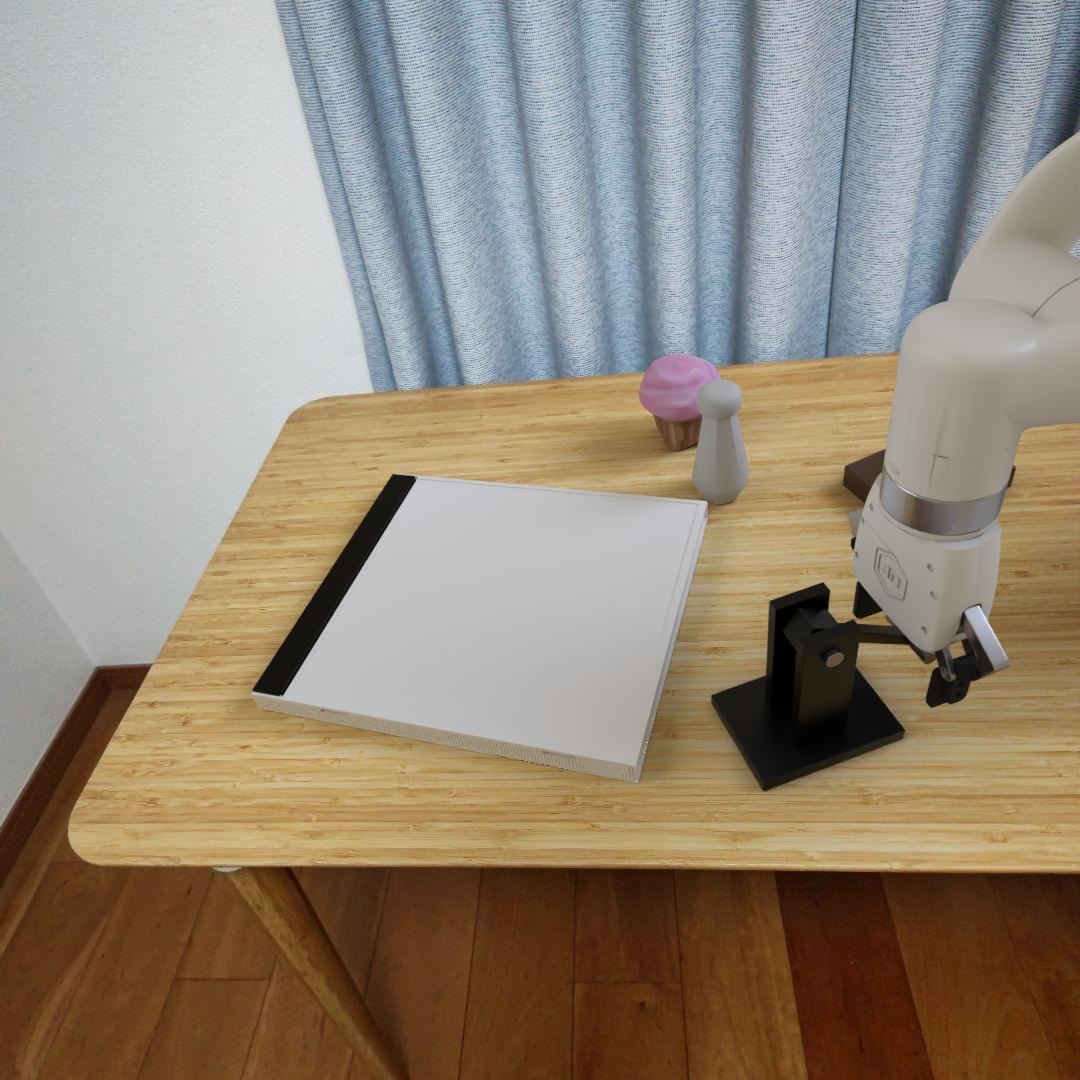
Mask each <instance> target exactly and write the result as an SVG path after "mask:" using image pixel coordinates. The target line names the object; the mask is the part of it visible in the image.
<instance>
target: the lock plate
mask: <svg viewBox="0 0 1080 1080" xmlns="http://www.w3.org/2000/svg"><path fill="white" fill-rule="evenodd" d="M885 451H886V448H884V449H881V450H879V451H877V452H874V453H871V454H870V455H868V456H865V457H863V458H860V459H858V460H856V461H853V462H851V463H849V464H846V465H844V469H843V477H842V479H843V480H842V486H844V487H845V488H846V489H847V490H848V491H849V492H850V493H851V494H853V495H854V496H855V497H856V498H858V500H860V501H861V502H863V503H864V504H865V502H866V499H867V497H868V495H869V492H870V490H871V488H872V486H873V484H874V482H875V480H876V478H877V477H878V476H879V475H880V474H881V473H882V471H883V464H884V457H885ZM1016 470H1017V466H1016V465H1014V464H1013V467H1012V470H1011V474H1010V478H1009V481H1008V485H1007V489H1008V488H1011V487H1012V484H1013V481H1014V477H1015V473H1016Z"/></svg>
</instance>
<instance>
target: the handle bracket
mask: <svg viewBox="0 0 1080 1080" xmlns="http://www.w3.org/2000/svg"><path fill="white" fill-rule="evenodd" d="M830 598H831V589H830V588H829V587H828V586H827V585H826V583H825V582H823V581H822V582H819V583H816V584H814V585H811V586H808V587H805V588H802V589H799V590H796V591H794V592H793V591H792V592H790V593H788V594H785V595H782V596H779V597H776V598H773V599H771V600H770V599H769V600H768V619H767V643H766V644H767V645H766V664H765V666H766V667H765V675H763V676H759V677H757V678H755V679H752V680H749V681H746V682H743V683H741V684H738V685H735V686H732V687H730V688H726V689H723V690H721V691H719V692H716V693H713V694H711V695H710V696H711V699H710V700H711V706H712V707H713V708H714V710H715V712H716V714H717V716H718V718H719V719H720V720H721V722H722V724H723V726H724V727H725V729H726V731H727V733H728V734H729V736H730V737H731V739H732V741H733V742H735V743H734V745H735V746H736V747H737V749H738V752H739V753H740V754H741V756H742V758H743V760H744V761H745V763H746V765H747V767H748V768H749V770H750V772H751V773H752V775H753V776H754V778H755V780H756V782H757V783H758V785H759V787H760V786H761V787H760V788H761V790H762V792H766V791H769V790H771V789H774V788H778V787H780V786H783V785H785V784H787V783H790V782H793V781H796V780H798V779H800V778H804V777H805V776H808V775H812V774H814V773H816V772H819V771H822V770H825V769H827V768H830V767H832V766H835V765H838V764H840V763H843V762H846V761H848V760H850V759H853V758H857V757H859V756H861V755H864V754H867V753H870V752H872V751H875V750H878V749H880V748H882V747H885V746H888V745H891V744H893V743H895V742H898V741H901V740H904V738H905V735H906V729H905V727H904V726H903V725H902V724H901V722H900V721H899V720H898V718H897V717H896V716H895V715H894V714H893V712H892V711H891V710H890V708H889V707H888V706H887V705H886V703H885V702H884V701H883V699H882V698H881V697H880V696H879V694H878V693H877V691H876V690H875V689H874V688H873V686H872V685H871V684H870V682H869V681H868V680H867V679H866V677H865V676H864V675H863V673H862V672H861V671H860V670H859V669H858V667H857V661H858V653H859V648H860V643H859V642H860V635H861V627H860V626H859V625H858V624H859V623H858V622H857V621H856V620H855V619H850V620H848V621H844V622H841V623H842V624H839V625H836V626H833V627H831V628H828V629H825V630H822V631H819V632H816V633H814V634H811V635H808V636H805V637H802V638H800V639H798V640H797V651H796V649H795V648H794V647H793V645H792V644H791V643H790V641H789V640H788V638H787V637H786V636H785V634H784V633H783V630H784V629H785V627H786V626H787V624H788V623H789V621H790V620H791V618H792V617H793V615H794V614H795V612H796V611H797V609H798V608H811V609H826V610H828V611H829V607H830V600H831V599H830Z"/></svg>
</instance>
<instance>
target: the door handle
mask: <svg viewBox="0 0 1080 1080" xmlns="http://www.w3.org/2000/svg"><path fill="white" fill-rule="evenodd" d="M884 617H885V620H886V621H887V622H888V624H889V625H886V624H870V623H868V624H867V623H857V624H858V625H859V626H860V627H861V635H860V642H859V644H875V645H877V644H878V645H899V646H901V645H902V646H908V647H909V648H910V649H911V650H912V652H913V653H914V654H915V655H916V656H917V658H918V659H919V660H920V661H921V662H922V663H923V664H924V665H931V664H933V663H934V662H935V661H937V659H936V656H935V652H931V653H928V652H925V651H923V650H921V649H920V648H918V647H917V646H915V645H914V644H913V643H912V642H911V641H910V640H909V639H908V638H907V637H906V636H905V635H904V634H903V633H902V631H901V630H900V629H899V628H898V627H897V626H896V625H895V623H894V622H893V621H892V620H891V619H890V618H889V617H888V615H887V614H886V613H885V616H884ZM842 623H843V622H839V621H837V620H836V618H834V616H833V615H832V614H831V612H830V611H829V609H828V610H826V609H811V608H798V609H797V611H796V612H795V614H794V615H793V617H792V618H791V620H790V621H789V623H788V624H787V626H786V627H785V629H784V630H783V633H784V634H785V636H786V637H787V638H788V640H789V641H790V643H791V644H792V645H793V647H794V648H795V649H796V651H797V640H798V639H800V638H802V637H805V636H808V635H811V634H814V633H816V632H819V631H822V630H825V629H828V628H831V627H833V626H836V625H839V624H842Z"/></svg>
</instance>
